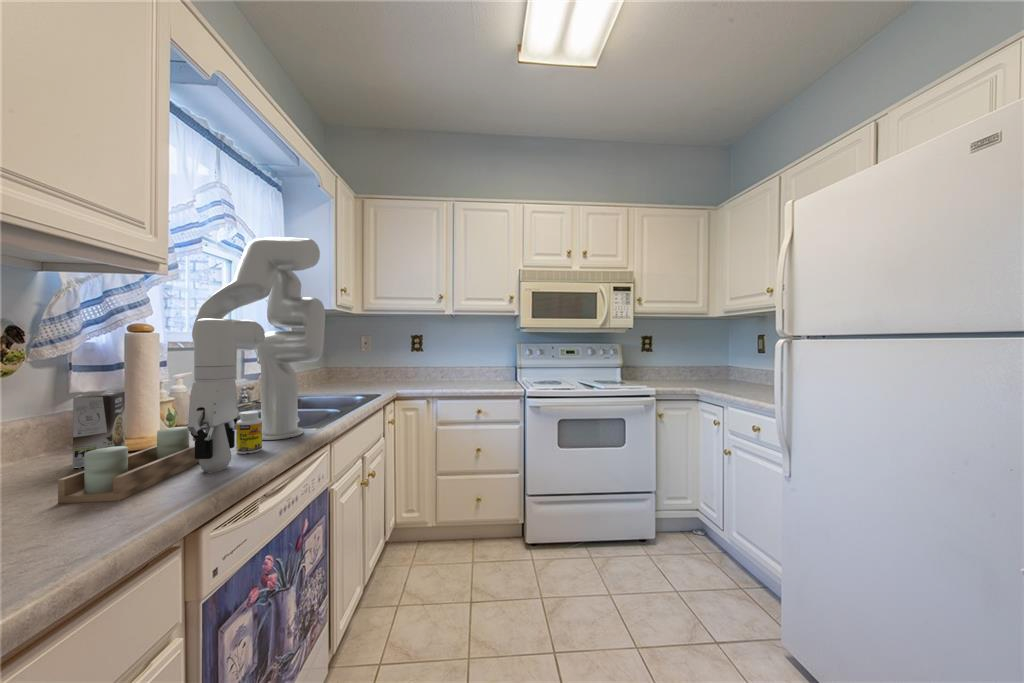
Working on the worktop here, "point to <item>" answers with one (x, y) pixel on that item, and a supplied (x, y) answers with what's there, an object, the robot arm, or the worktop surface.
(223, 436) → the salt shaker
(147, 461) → the spice rail
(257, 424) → the supplement bottle
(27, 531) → the worktop surface
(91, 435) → the coffee box
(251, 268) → the robot arm
